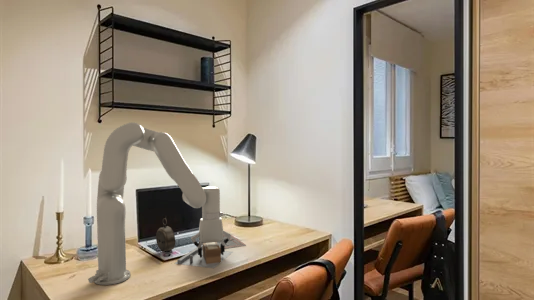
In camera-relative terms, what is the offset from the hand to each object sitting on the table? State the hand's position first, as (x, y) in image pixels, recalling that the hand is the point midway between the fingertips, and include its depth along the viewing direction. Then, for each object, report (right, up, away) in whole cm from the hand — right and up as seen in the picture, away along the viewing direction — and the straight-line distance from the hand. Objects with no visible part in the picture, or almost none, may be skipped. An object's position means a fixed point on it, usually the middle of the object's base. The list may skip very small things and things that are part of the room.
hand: (211, 255), depth 145 cm
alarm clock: (-23, -2, +10) cm, 25 cm away
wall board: (-3, -2, +1) cm, 4 cm away
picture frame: (+1, -3, +23) cm, 23 cm away
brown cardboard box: (0, -1, 0) cm, 1 cm away
